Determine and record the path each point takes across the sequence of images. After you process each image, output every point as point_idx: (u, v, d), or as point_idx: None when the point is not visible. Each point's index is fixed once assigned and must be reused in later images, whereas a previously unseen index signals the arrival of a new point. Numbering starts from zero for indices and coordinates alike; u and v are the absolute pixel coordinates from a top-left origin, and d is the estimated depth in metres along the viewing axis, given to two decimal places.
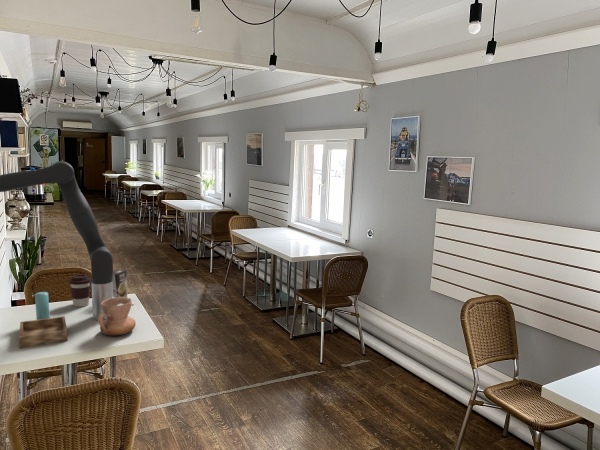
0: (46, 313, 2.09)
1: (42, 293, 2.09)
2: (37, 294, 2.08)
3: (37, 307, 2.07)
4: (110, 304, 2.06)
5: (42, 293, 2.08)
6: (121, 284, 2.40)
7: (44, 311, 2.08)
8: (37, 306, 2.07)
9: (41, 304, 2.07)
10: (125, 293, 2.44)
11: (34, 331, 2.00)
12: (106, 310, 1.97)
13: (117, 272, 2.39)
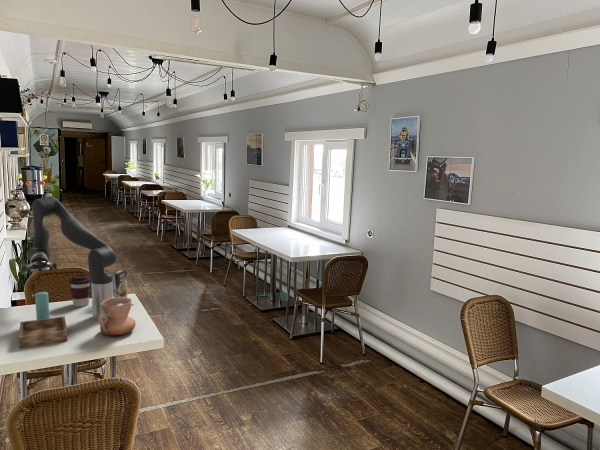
0: (46, 313, 2.09)
1: (42, 293, 2.09)
2: (37, 294, 2.08)
3: (37, 307, 2.07)
4: (110, 304, 2.06)
5: (42, 293, 2.08)
6: (122, 284, 2.40)
7: (44, 311, 2.08)
8: (37, 306, 2.07)
9: (41, 304, 2.07)
10: (125, 293, 2.44)
11: (34, 331, 2.00)
12: (106, 310, 1.97)
13: (117, 272, 2.39)
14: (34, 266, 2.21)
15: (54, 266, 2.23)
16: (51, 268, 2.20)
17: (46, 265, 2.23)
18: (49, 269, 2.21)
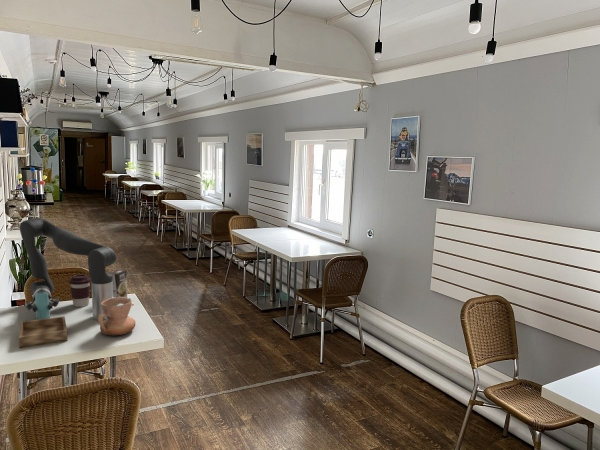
0: (46, 313, 2.09)
1: (42, 293, 2.09)
2: (37, 294, 2.07)
3: (37, 307, 2.07)
4: (110, 304, 2.06)
5: (42, 293, 2.08)
6: (121, 284, 2.40)
7: (44, 311, 2.08)
8: (37, 306, 2.07)
9: (41, 304, 2.07)
10: (125, 293, 2.44)
11: (34, 331, 2.00)
12: (106, 310, 1.97)
13: (117, 272, 2.39)
14: None
15: (54, 304, 2.14)
16: (50, 307, 2.10)
17: None
18: None
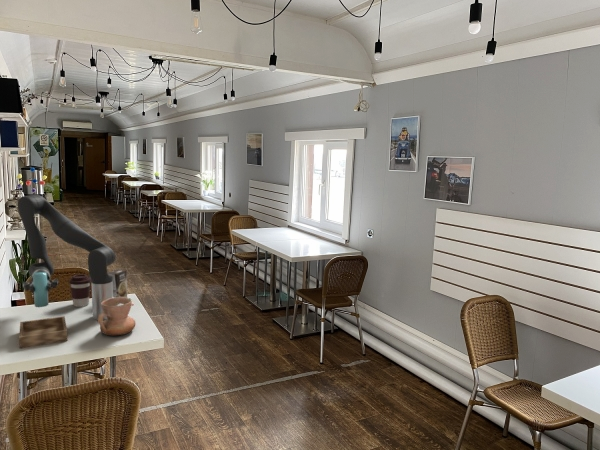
0: (44, 294, 1.97)
1: (40, 273, 1.97)
2: (35, 274, 1.96)
3: (35, 287, 1.96)
4: (110, 304, 2.06)
5: (41, 273, 1.97)
6: (121, 284, 2.40)
7: (42, 292, 1.97)
8: (35, 286, 1.96)
9: (39, 285, 1.95)
10: (125, 293, 2.44)
11: (34, 331, 2.00)
12: (106, 310, 1.97)
13: (117, 272, 2.39)
14: None
15: (53, 285, 2.02)
16: (49, 287, 1.98)
17: None
18: None
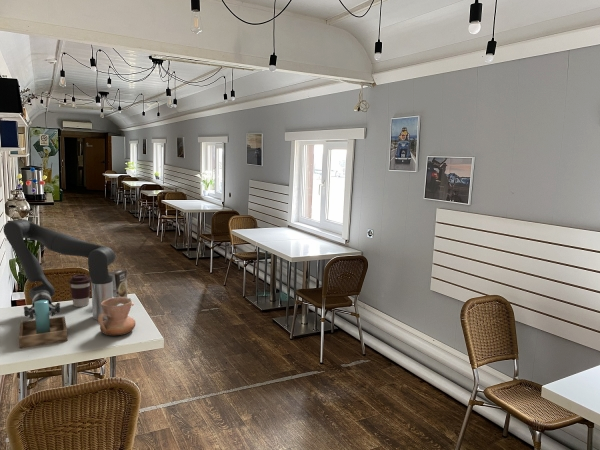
0: (46, 323, 1.95)
1: (42, 301, 1.95)
2: (36, 302, 1.94)
3: (37, 316, 1.94)
4: (110, 304, 2.06)
5: (42, 302, 1.95)
6: (121, 284, 2.40)
7: (44, 321, 1.95)
8: (37, 315, 1.94)
9: (41, 313, 1.93)
10: (125, 293, 2.44)
11: (34, 331, 2.00)
12: (106, 310, 1.97)
13: (117, 272, 2.39)
14: None
15: (56, 309, 2.00)
16: (53, 312, 1.96)
17: None
18: None
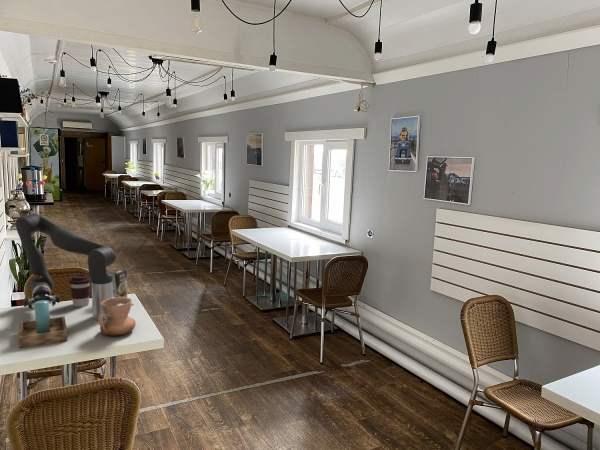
0: (46, 323, 1.95)
1: (42, 302, 1.95)
2: (37, 303, 1.94)
3: (37, 316, 1.93)
4: (110, 304, 2.06)
5: (42, 302, 1.95)
6: (121, 284, 2.40)
7: (44, 321, 1.95)
8: (37, 316, 1.93)
9: (41, 314, 1.93)
10: (125, 293, 2.44)
11: (34, 331, 2.00)
12: (106, 310, 1.97)
13: (117, 272, 2.39)
14: (36, 300, 2.10)
15: (57, 300, 2.12)
16: (54, 302, 2.08)
17: (49, 299, 2.12)
18: None
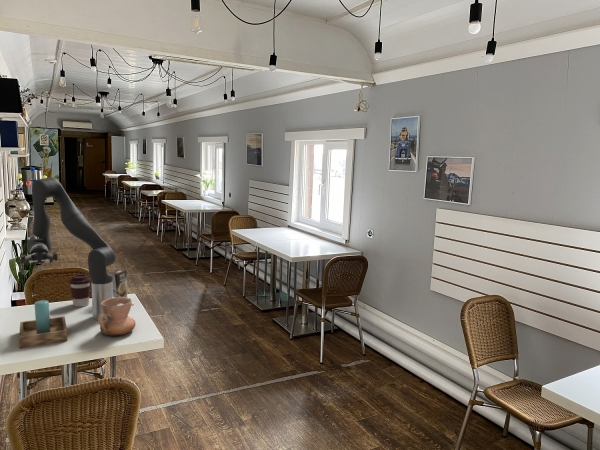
0: (46, 323, 1.95)
1: (42, 302, 1.95)
2: (37, 303, 1.93)
3: (37, 317, 1.93)
4: (110, 304, 2.06)
5: (43, 302, 1.94)
6: (121, 284, 2.40)
7: (44, 321, 1.94)
8: (37, 316, 1.93)
9: (41, 314, 1.93)
10: (125, 293, 2.44)
11: (34, 331, 2.00)
12: (106, 310, 1.97)
13: (117, 272, 2.39)
14: (33, 257, 2.06)
15: (55, 257, 2.08)
16: (51, 259, 2.05)
17: (46, 256, 2.08)
18: None
